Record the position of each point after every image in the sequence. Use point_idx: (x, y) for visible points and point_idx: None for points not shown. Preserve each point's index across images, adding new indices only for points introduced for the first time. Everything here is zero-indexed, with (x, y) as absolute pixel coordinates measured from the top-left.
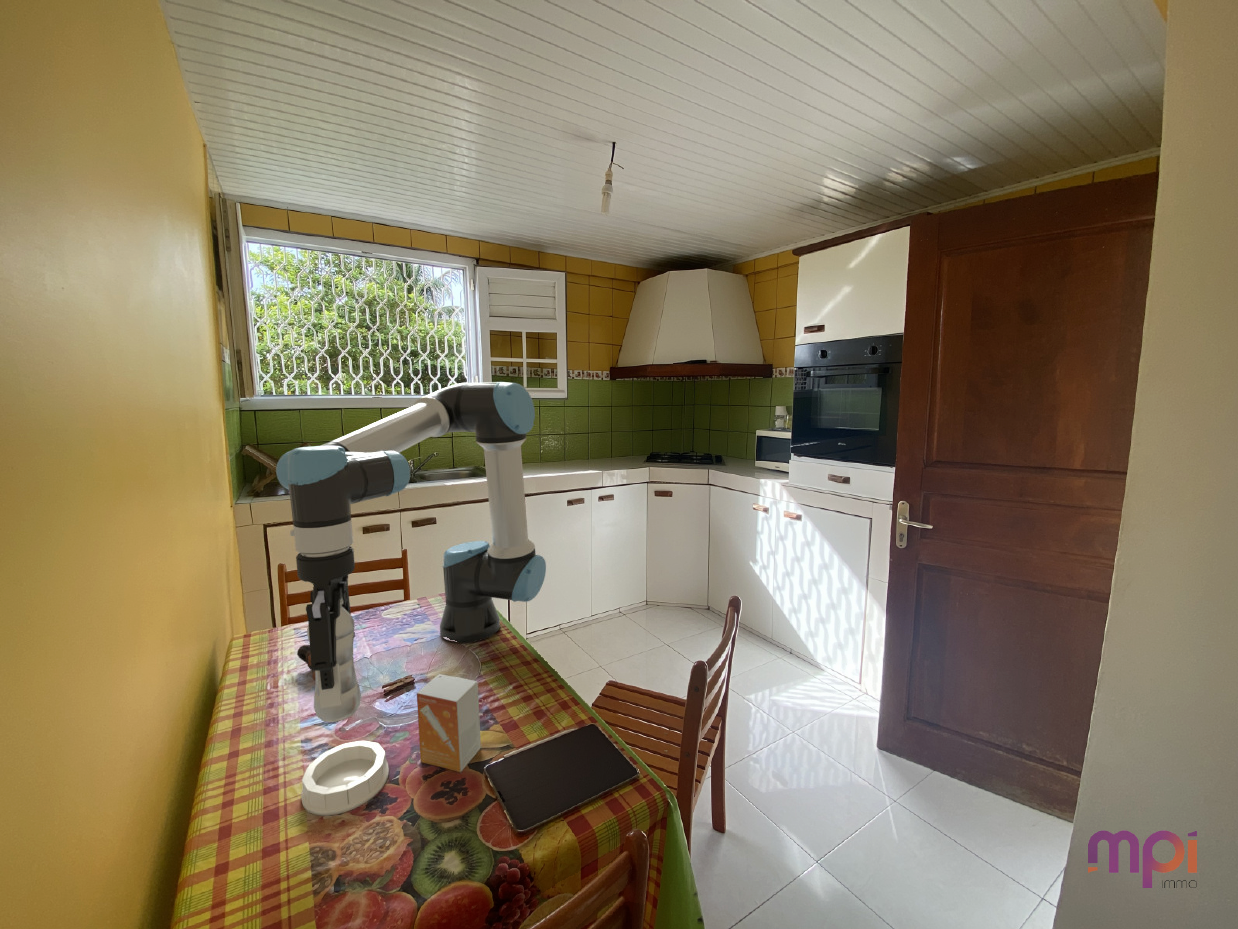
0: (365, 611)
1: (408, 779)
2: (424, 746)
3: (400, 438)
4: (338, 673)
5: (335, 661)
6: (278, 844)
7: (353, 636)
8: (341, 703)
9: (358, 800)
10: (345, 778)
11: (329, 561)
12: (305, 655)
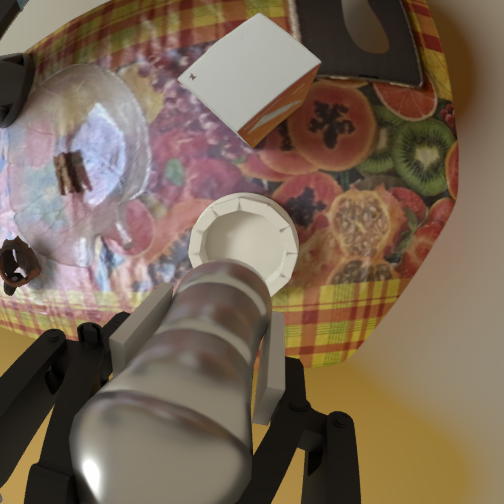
0: None
1: (278, 169)
2: (257, 139)
3: None
4: (281, 366)
5: (303, 408)
6: (306, 312)
7: (176, 380)
8: (278, 312)
9: (295, 235)
10: (241, 248)
11: None
12: (14, 287)
